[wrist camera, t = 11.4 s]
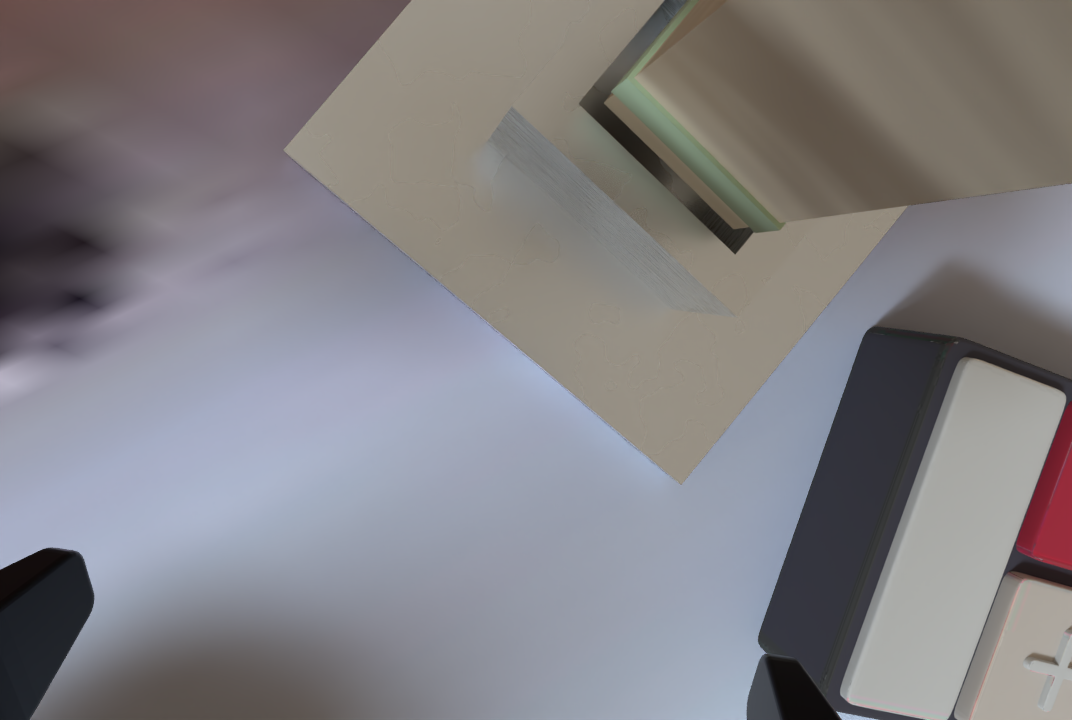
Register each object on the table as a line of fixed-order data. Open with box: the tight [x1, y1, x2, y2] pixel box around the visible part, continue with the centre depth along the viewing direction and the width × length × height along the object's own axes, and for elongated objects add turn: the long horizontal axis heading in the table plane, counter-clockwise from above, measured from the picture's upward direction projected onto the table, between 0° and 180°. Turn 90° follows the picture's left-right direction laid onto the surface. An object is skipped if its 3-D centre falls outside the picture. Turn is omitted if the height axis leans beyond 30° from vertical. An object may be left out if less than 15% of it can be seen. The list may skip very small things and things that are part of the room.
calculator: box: [758, 327, 1072, 720], centre depth 23 cm, size 11×4×15 cm
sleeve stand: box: [284, 0, 908, 485], centre depth 18 cm, size 14×14×6 cm
